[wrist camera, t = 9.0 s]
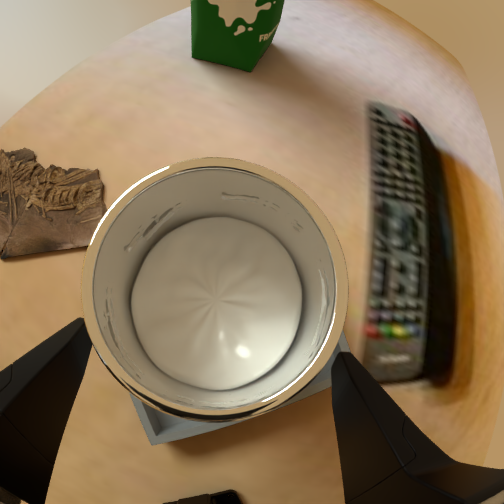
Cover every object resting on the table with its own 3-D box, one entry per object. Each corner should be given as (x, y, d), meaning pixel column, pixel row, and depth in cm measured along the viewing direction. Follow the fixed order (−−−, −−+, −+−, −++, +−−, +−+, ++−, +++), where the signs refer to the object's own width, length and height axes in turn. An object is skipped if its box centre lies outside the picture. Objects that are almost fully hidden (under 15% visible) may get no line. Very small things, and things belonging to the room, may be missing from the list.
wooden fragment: (134, 182, 24) (131, 176, 23) (82, 304, 21) (77, 302, 20) (-19, 138, 24) (-23, 134, 23) (-58, 216, 21) (-63, 213, 20)
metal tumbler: (154, 334, 20) (32, 332, 6) (200, 251, 22) (167, 116, 8) (241, 380, 20) (278, 473, 6) (284, 295, 22) (391, 225, 8)
